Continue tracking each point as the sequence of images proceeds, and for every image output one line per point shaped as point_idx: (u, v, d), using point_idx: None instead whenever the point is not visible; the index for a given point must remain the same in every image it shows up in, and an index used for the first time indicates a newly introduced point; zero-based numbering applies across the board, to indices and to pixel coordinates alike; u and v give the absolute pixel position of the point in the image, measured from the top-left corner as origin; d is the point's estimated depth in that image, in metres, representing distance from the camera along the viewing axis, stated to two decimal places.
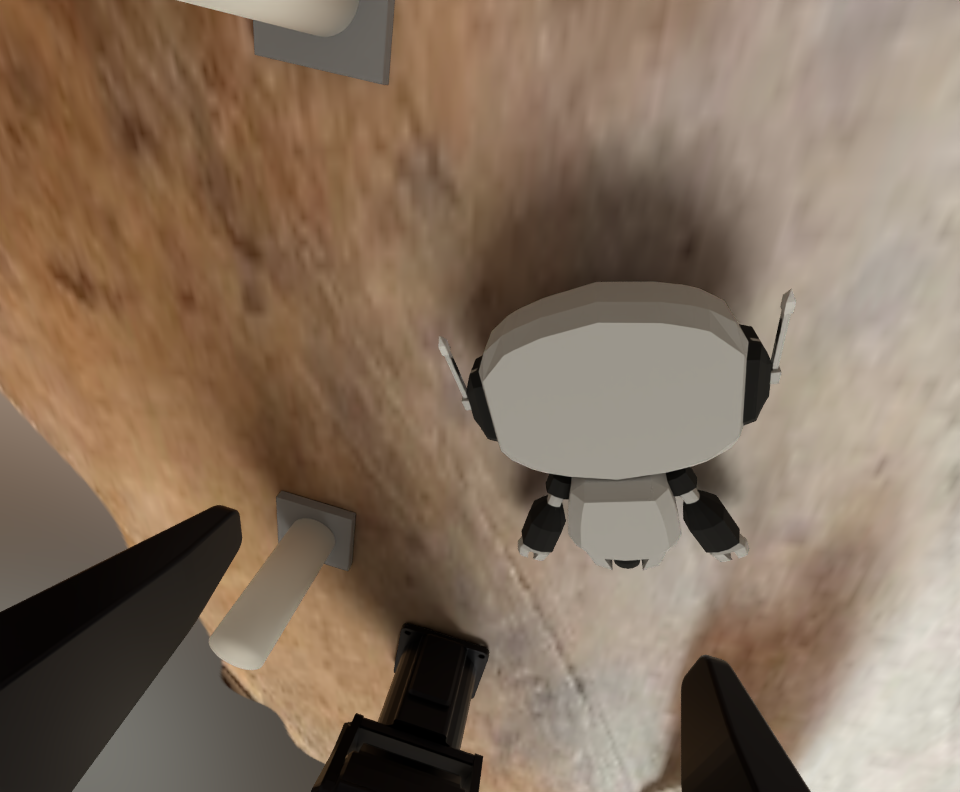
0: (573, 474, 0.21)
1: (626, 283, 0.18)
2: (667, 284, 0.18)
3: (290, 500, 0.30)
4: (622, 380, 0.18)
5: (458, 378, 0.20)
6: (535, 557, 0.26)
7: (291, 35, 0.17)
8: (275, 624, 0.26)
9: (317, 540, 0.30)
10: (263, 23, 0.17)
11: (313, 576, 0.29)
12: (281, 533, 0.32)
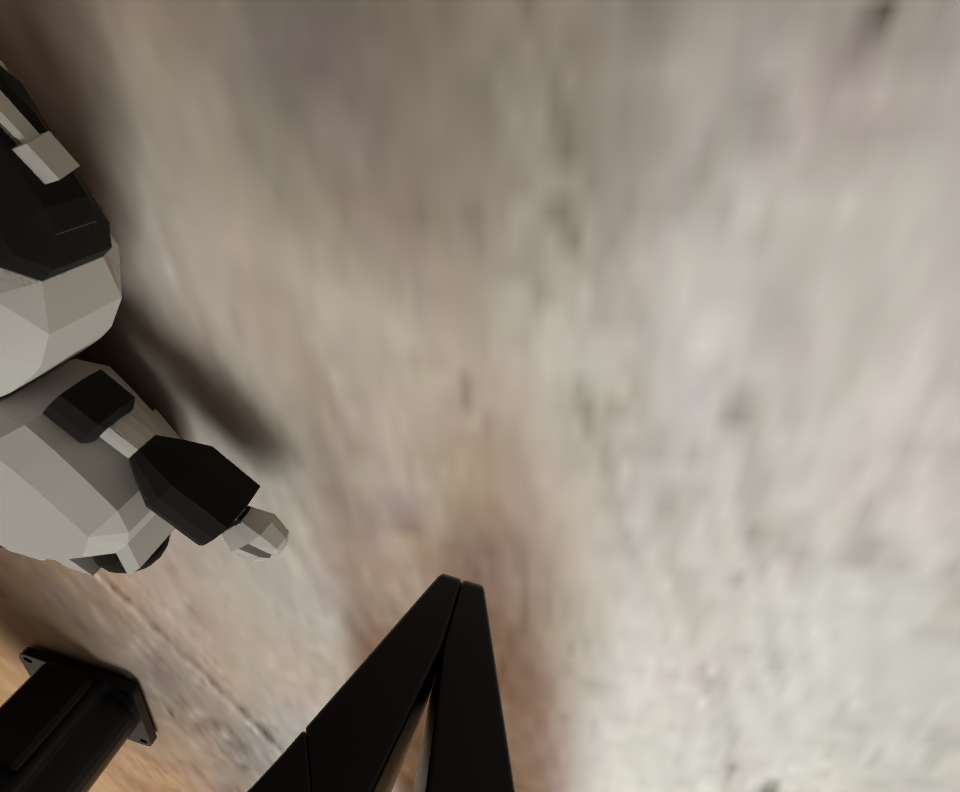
0: None
1: None
2: None
3: None
4: None
5: None
6: None
7: None
8: None
9: None
10: None
11: None
12: None
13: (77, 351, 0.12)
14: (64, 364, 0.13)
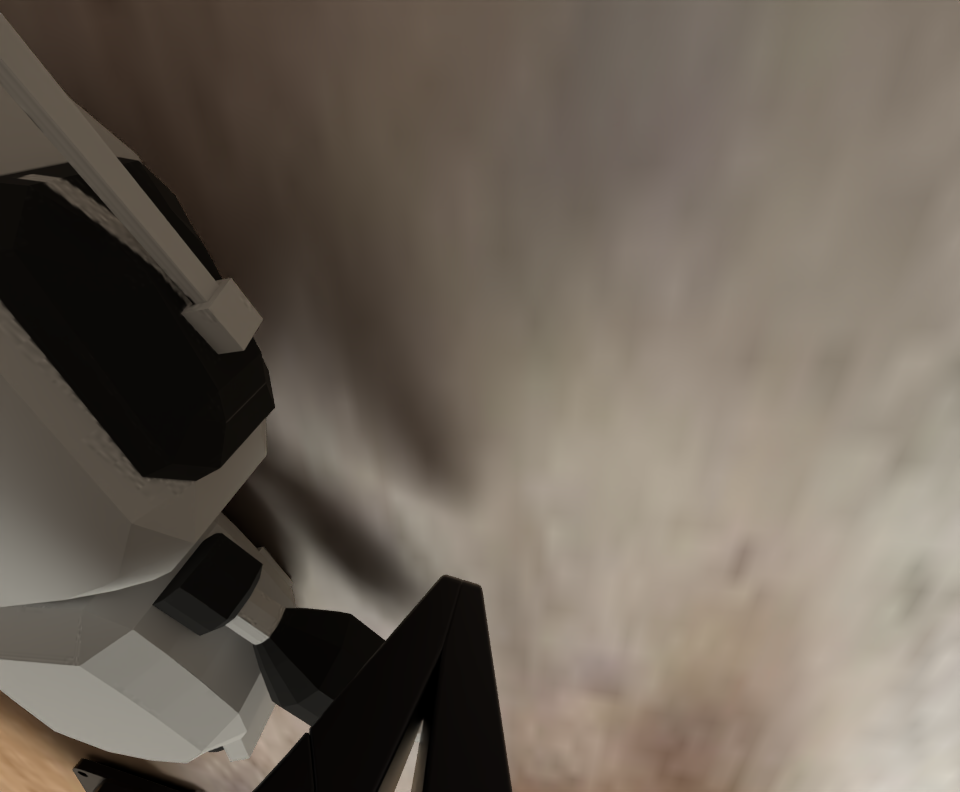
0: None
1: None
2: None
3: None
4: None
5: None
6: None
7: None
8: None
9: None
10: None
11: None
12: None
13: None
14: None
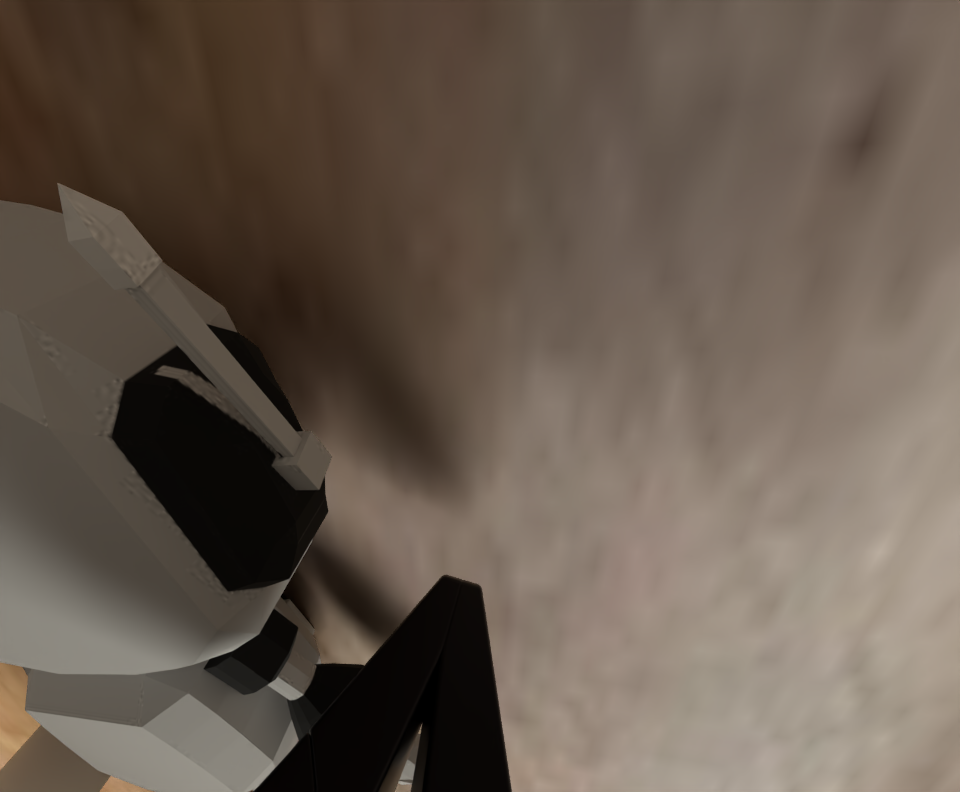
0: None
1: None
2: None
3: None
4: None
5: None
6: None
7: None
8: None
9: None
10: None
11: None
12: None
13: None
14: None
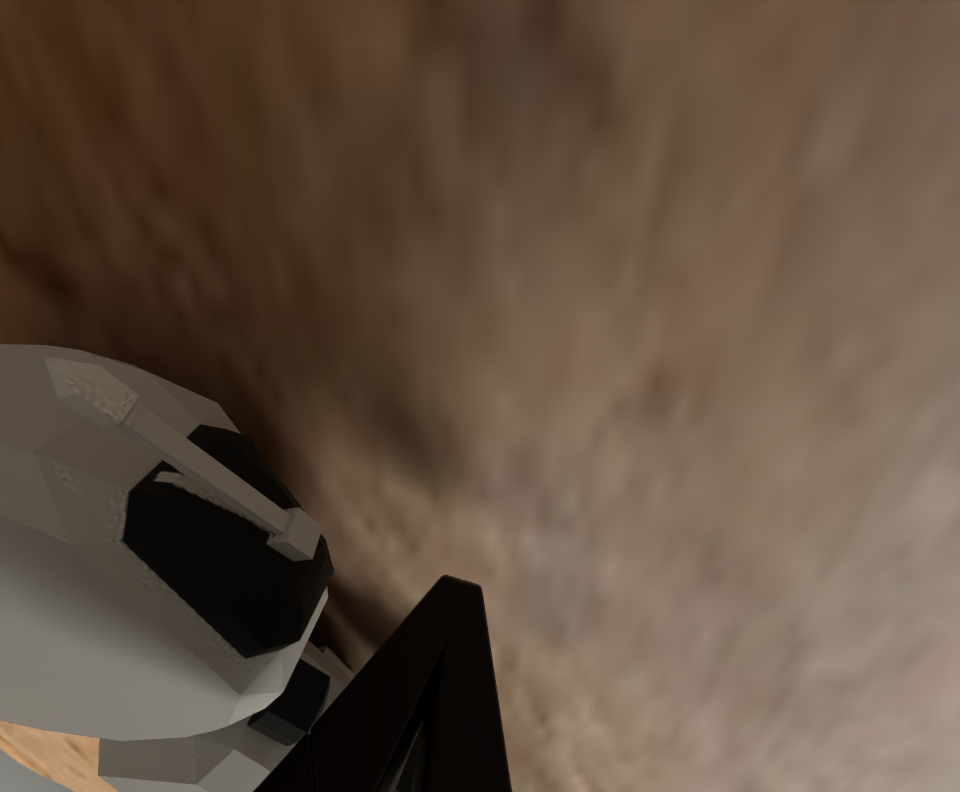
0: (51, 729, 0.10)
1: None
2: (2, 349, 0.07)
3: None
4: None
5: None
6: None
7: None
8: None
9: None
10: None
11: None
12: None
13: None
14: None
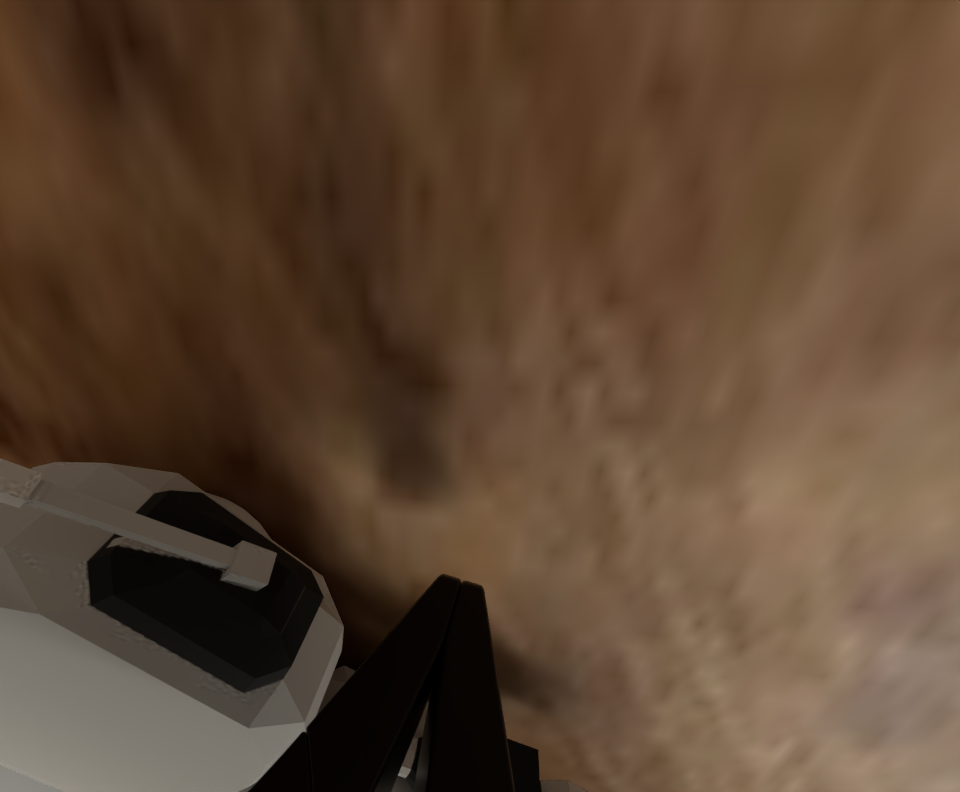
0: None
1: None
2: None
3: None
4: (1, 692, 0.09)
5: None
6: None
7: None
8: None
9: None
10: None
11: None
12: None
13: None
14: None
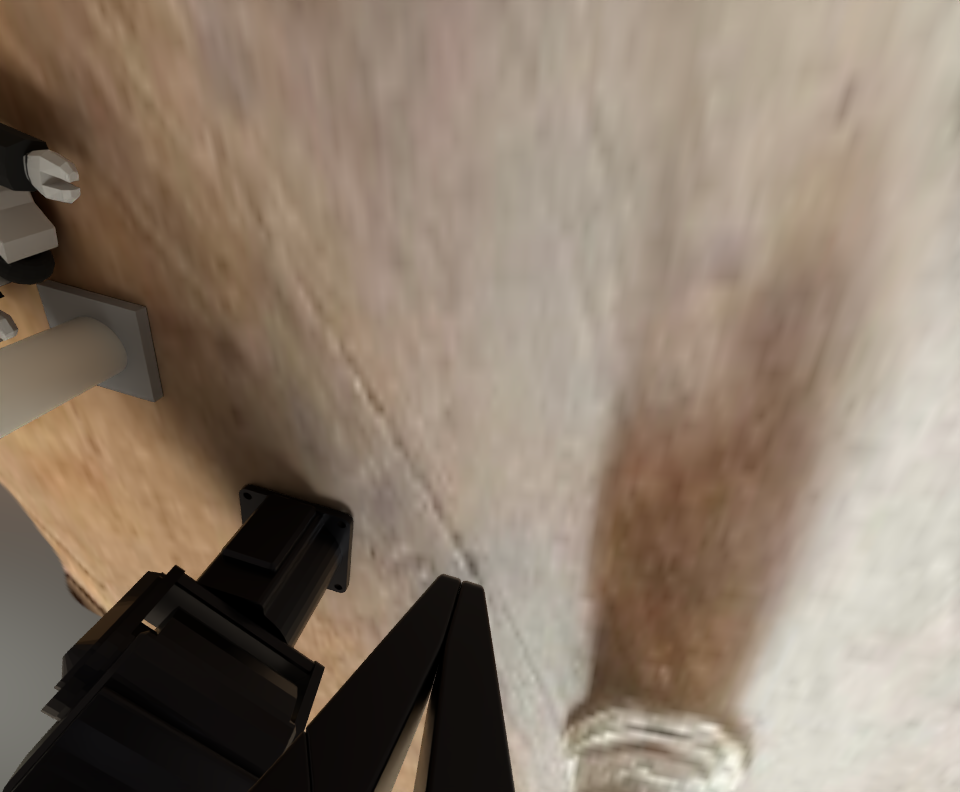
0: None
1: None
2: None
3: (54, 288, 0.22)
4: None
5: None
6: (0, 336, 0.22)
7: None
8: None
9: (86, 338, 0.22)
10: None
11: (71, 379, 0.21)
12: None
13: None
14: None
